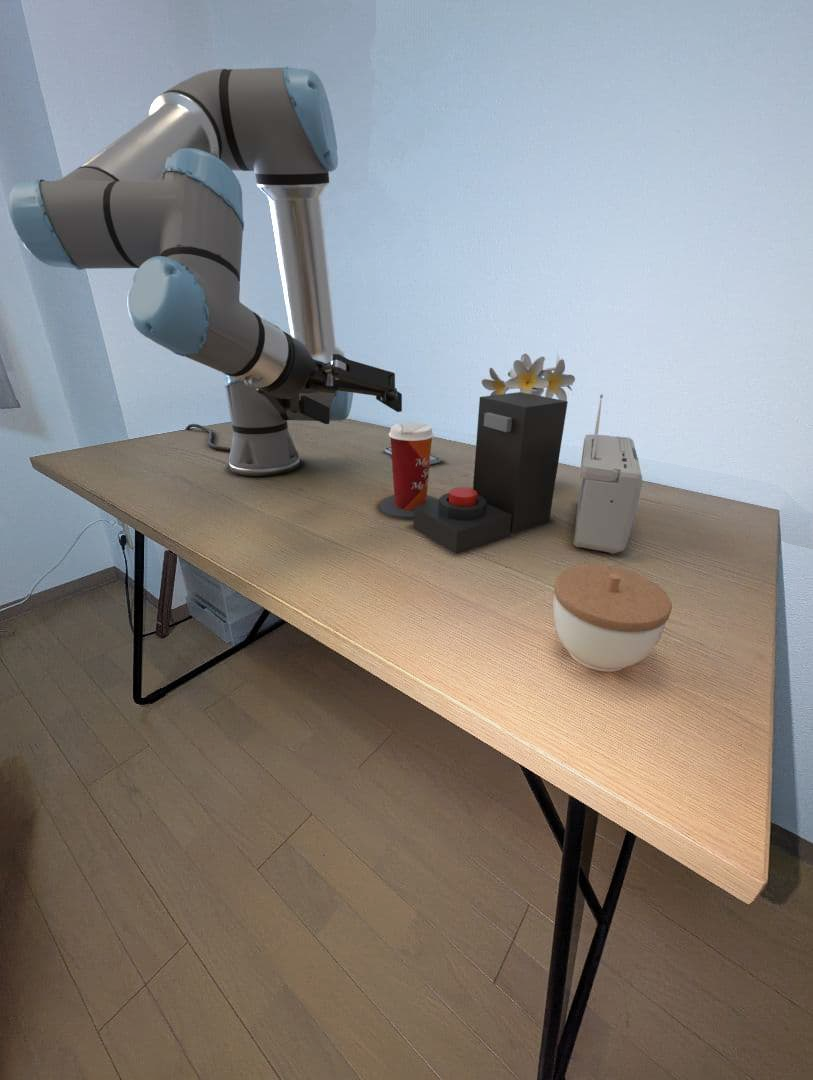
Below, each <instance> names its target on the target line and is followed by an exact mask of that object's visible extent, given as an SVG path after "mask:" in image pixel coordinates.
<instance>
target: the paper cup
mask: <svg viewBox="0 0 813 1080" xmlns="http://www.w3.org/2000/svg"><path fill="white" fill-rule="evenodd" d="M434 436H435V434H434V432H433V429H432V426H430V425H428V424H425V423H420V422H419V423H418V422H402V423H395V424H393V425H392V426H391V427H390V431H389V432H388V437H389V438H390V447H391V453H392V455H391V466H392V468H391V469H392V480H393V481H392V483H393V495H394V497H395V505H396V507H398V508H400V509H403V510H414V507H416V506H420V505H424V504H426V498H427V496H428V486H429V477H430V465H431V464H430V454H431V455H432V442H433V438H434Z"/></svg>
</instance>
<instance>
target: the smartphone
mask: <svg viewBox="0 0 813 1080" xmlns="http://www.w3.org/2000/svg"><path fill="white" fill-rule="evenodd" d="M384 452H385V453H387V454H389V455H390V456H392V453H391V446H387V447H384ZM439 463H441V458H440V457H438V456H436V455H433V454H432V453H431V454H430V465H434V464H439Z"/></svg>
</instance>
